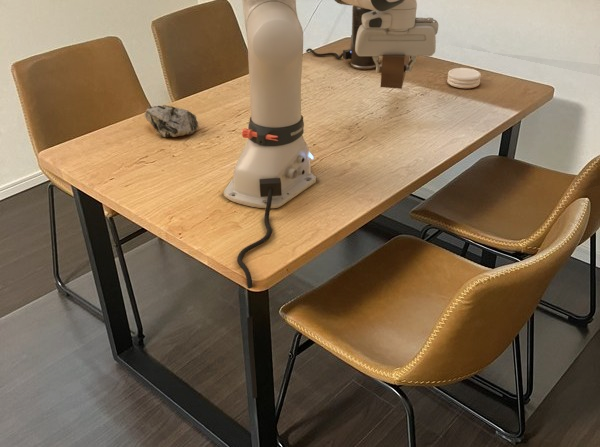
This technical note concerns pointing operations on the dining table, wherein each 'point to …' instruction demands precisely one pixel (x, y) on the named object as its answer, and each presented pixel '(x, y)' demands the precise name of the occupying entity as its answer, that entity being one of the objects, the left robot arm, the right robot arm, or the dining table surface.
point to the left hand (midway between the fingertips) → (393, 72)
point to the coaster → (464, 78)
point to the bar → (393, 70)
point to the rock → (171, 120)
